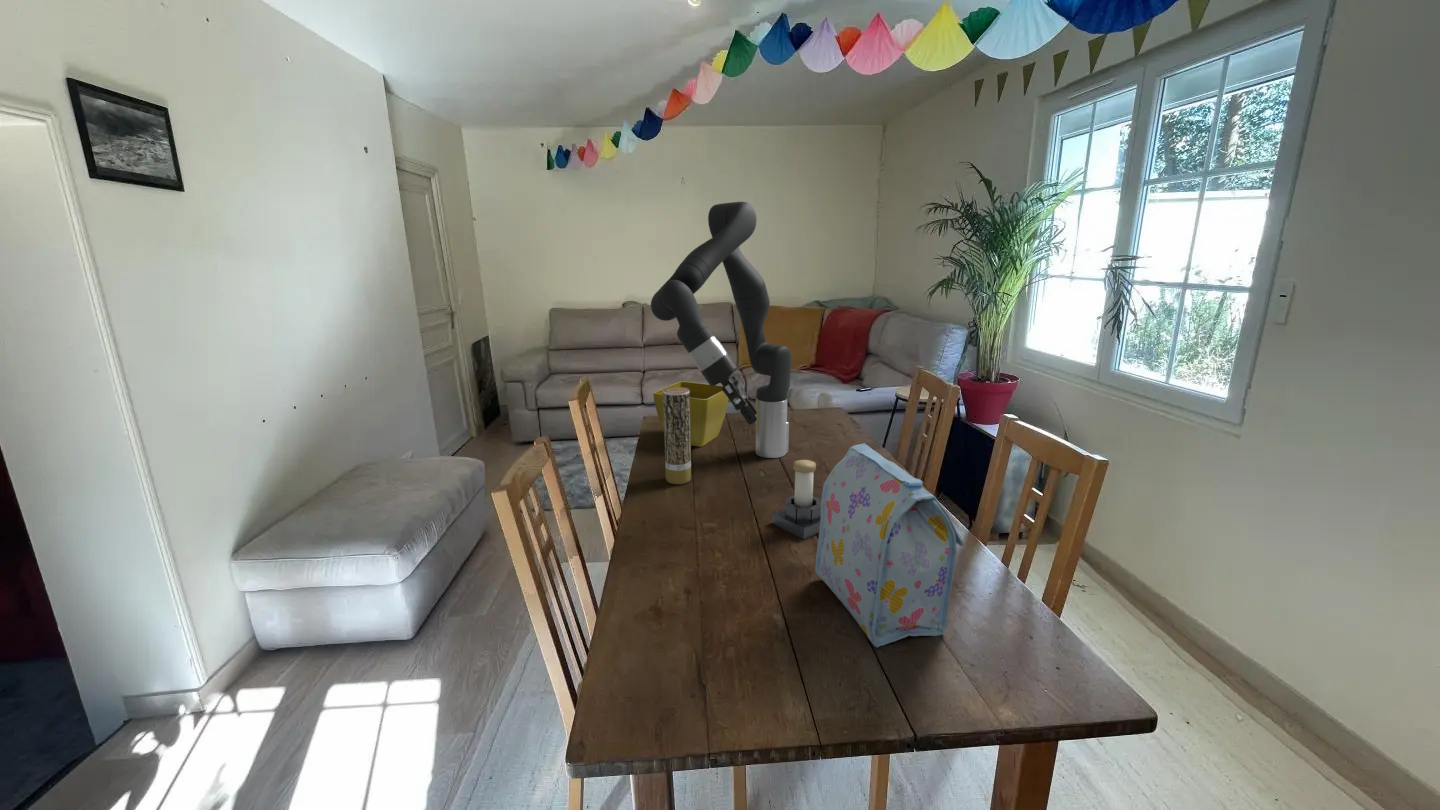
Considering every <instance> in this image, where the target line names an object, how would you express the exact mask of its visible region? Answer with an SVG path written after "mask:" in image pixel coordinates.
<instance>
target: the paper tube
mask: <svg viewBox="0 0 1440 810" xmlns="http://www.w3.org/2000/svg"><path fill="white" fill-rule="evenodd" d="M663 404H664V432H663V433H664V460H665V461H664V463H665V464H664V465H665V466H664V467H665V480H666V482H667V483H669V484H671V485H685V484H688V483H689V482H690V481H691V480H692V461H691V460H692V457H691V456H692V454H691V453H692V451H691V447H692V445H691V442H690V392H689V389H688V388H683V387H672V388H666V389H664V390H663Z"/></svg>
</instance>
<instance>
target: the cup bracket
mask: <svg viewBox="0 0 1440 810" xmlns="http://www.w3.org/2000/svg"><path fill="white" fill-rule="evenodd" d="M794 497H795V494H793V495H790V496H788V497H786V498H785V506H784V508H781V509H778V510H776V511H773V512H771V524H772V525H775V526H777V527H779V528H781V529H782V530H784V531H786V532H788V533H790V534H792V535H794V536H796V537H798V538H800V539H803V540H806V539H808V538H810V537H814V536H815V535H818V534H819V531H820V520H821V500H822V498H819V497H816V496H814V495H813V500H812V507H797V506H795V505H794Z"/></svg>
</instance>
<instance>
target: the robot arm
mask: <svg viewBox="0 0 1440 810" xmlns="http://www.w3.org/2000/svg"><path fill="white" fill-rule="evenodd" d="M707 218H708V219H707V222H708V228H709V232H710V235H711V238H709V239H708V240H707V241H704V242H703V243H701V244H699V245H698V246H697V247H696V248H694V249H693V250H692V251H690V252H689V253H688V254H687V256H686V257H685V258H684V259H683V261H682V262H681V263H680V264H679V265H678V266H677V268H676V270H674V273H673V274H672V275H671V276H670V277H669V279H667V281H665V282H664V283H663V285H662V286H661V287H660V288H659V289H658V290H657V291H656V292H655V293H654V295H653V296H652V299H651V301H650V309H651V312H652V314H653V316H655V318H657V319H658V320H660V321H666V322H667V321H671V320H674V319H676V320H677V323H678V325H679V326H678V329H677V331H676V335H677V338H678V341H680V343H681V344H682V346H683V347H684V348H685V350H686V351H687V353H688V354H689V355H690V358H691V360H692V361H693V363H694V365H695V366H696V367H697V369H698V370H699V371H700V373H701V374H702V376H703V377H704V379H705V381H707V382H706V383H707V384H710V386H715V385H719V384H721V386H723V388H722V391H723V392H724V394H725V395H726V396H727V397H728V399H729V402H730V403H731V404H732V405H733V407H734V409H735V410H736V412H739V413H740V414H741V415H742V417H743V418H744V419H745V421H746V422H747V424H748V425H752V424H753V423H755V454H756V455H757V456H759V457H761V458H767V459H777V458H782V457H784V456H786V454H787V453H789V442H790V441H789V440H790V434H789V433H790V423H789V422H788V419H787V418H788V393H789V390H790V386H791V373H792V372H791V371H792V354H791V353H792V352H791V351H790V349H789V348H788V347H787V346H785V345H781V344H772V343H768V341H767V340H766V336H765V331H764V326H765V325H764V324H765V321H766V319H767V317H768V315H769V314H768V313H769V310H770V305H771V301H770V297H769V292H768V289H767V286H766V282H765V280H764V277H763V276H762V275H761V273H760V271H758V270H757V269H756V268H755V267H754V266H753V264H752V263H750V261H748V259H747V258H746V257H745V256H744V254H743V252H742V251H741V249H740V246H742V244H744V243H745V242H746V241H747V240H748V239H750V238H751V237H752V235H753V234H754V233H755V230H756V226H757V215H756V211H755V208H754V206H753V205H752V204H750V203H749V202H747V201H733V202H724V203H717V204H714V205H713V206H711V208H710V209H709V211H708V216H707ZM721 264H722V265H723V267H724V271H725V273H726V276H727V279H728V282H729V285H730V288H731V291H732V292H731V293H732V296H733V300H734V303H735V306H736V309H737V312H738V314H739V318H740V322H741V326H742V328H743V333H744V336H745V341H746V347H747V352H748V358H749V361H750V365H751V367H752V369H753V371H754V372H755V373H757V374H759V375H763V376H768V377H770V379H769V383H768V384H767V385H762V386H760V387H758V388H757V389H756V393H755V407H754V406H753V404H752V402H751V401H750V400H749V396H748V393H747V392H746V390H745V389H744V387H742V386H743V385H742V384H741V383H740V381H739V379H736V377H735V376H734V375H732V374H734V373H735V372H736V371H737V370H738V365H737V364H736V362H735V361H734V360H733V358H732V357H731V356H730V354H729V353H728V351H727V350H726V348H725V347H724V346H723V344H722V343H721V341H719V339H718V338H717V337H716V336H715V335H714V333H713V332H712V330H711V329H710V328H709V326H708V324H707V323H706V322H705V320H704V318H703V316H702V312H701V309H700V307H699V304H698V302H697V300H696V297H695V296H694V295H695V294H696V293H697V292H698V291H699V290H700V289H701V288H702V287H703V285H704V284H705V283H706V281H707V280H709V278H710V277H711V275H712V274H713V272H715V271H716V269H717V268H718V266H719V265H721Z"/></svg>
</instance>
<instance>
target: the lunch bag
mask: <svg viewBox="0 0 1440 810" xmlns="http://www.w3.org/2000/svg"><path fill="white" fill-rule="evenodd" d="M923 484H924V482H923V480H921V479H919V478H917V477H916V478H915V476H913V475H911V474H909V473H908V472H907V471H905V470H904V469H903V468H901V467H900V466H898V465H897V464H896V463H895V462H893V461H890V460H888V459H886V458H884V457H883V456H882V455H881V454H880V453H878V452H877V451H876V450H874V449H873V448H871V447H870V445H867V443H864V442H863V443H861V444H855V445H852V446H850V447H849V449H848V450H847V452H846V453H845V455H844V457H843V458H842V459H841V460H840V461H839V462H838V463H836V465H835V466H834V467H833V468H832V470H831V471H830V473H829V474H828V476H827V478H826V479H825V481H824V483H823V487H822V494H821V520H820V531H819V533H818V542H817V546H816V547H817V548H816V553H815V554H816V556H815V568H814V570H815V573H816V575H817V576H818V577H819V578H820V579H821V580H822V582H824V583H825V584H826V586H827V587H829V589H830V590H831V592H833V594H834V595H835V597H836V598H837V599H838V600H839V601H840V602H841V604H842V605H843V606H844V607H845V608H846V610H847V611H848V612H849V613H850V615H851V616H852V617H853V619H854V620H855V621H856V622H857V624H858V625H859V627H860V629H862V631H863V632H864V634H865V636H866V637H867V638H868V640H869V641H870V642H871V644H872V645H873V646H874V647H875V648H879V647H881V646H885V645H888V644H891V643H894V642H896V641H899V640H901V639H902V640H903V639H904V638H907V637H909V636H910V637H918V636H919V637H920V636H924V637H925V636H926V637H927V636H928V637H930V636H931V637H937V636H942V635H944V634H945V632H946V629H947V623H948V617H949V609H950V603H951V602H950V601H951V594H952V586H953V581H954V575H955V569H956V568H955V567H956V559H957V550H958V549H957V545H959V546H961V547H964V546H965V543H964V541H963V539H962V538H961V536H960V534H959V532H958V531H957V529H956V527H955V525H954V523H953V520H952V519H951V517H950V515H949V513H948V512H947V510H946V509H945V508H944V506H942V504H941V503H940V501H939V500H938V499H937V497H936V496H935V495H933V494H932V493H931V492H930V491H927V490H926V488H925V489H924V487H923Z"/></svg>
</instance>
